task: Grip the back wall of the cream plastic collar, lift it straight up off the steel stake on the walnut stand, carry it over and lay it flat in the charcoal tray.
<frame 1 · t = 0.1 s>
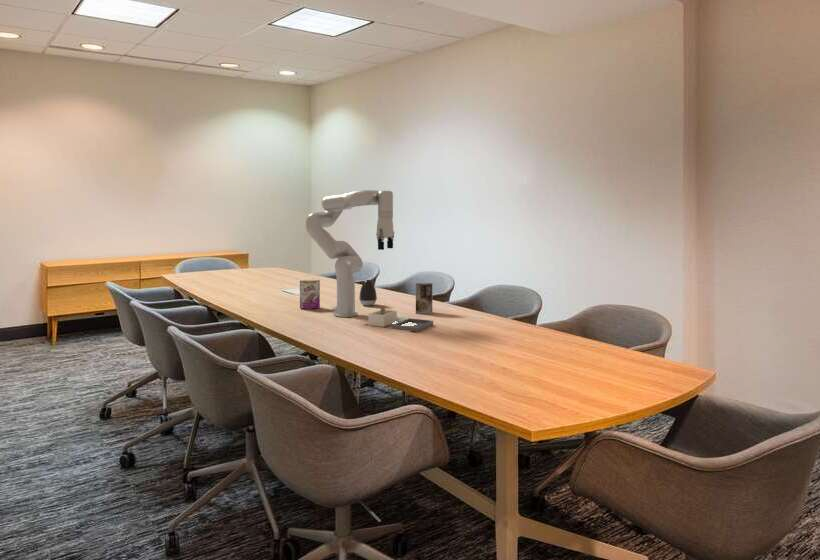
hand: (385, 248, 311), 37 cm above the table, tool pointing down, fingers open, 9 cm apart
candy bar box: (310, 308, 346), on the table
tray: (412, 327, 297), on the table
collar: (382, 323, 303), point 1 cm above the table, touching stake stand
stake stand: (382, 324, 303), on the table
coffee box: (424, 313, 335), on the table
dark vase: (367, 305, 357), on the table
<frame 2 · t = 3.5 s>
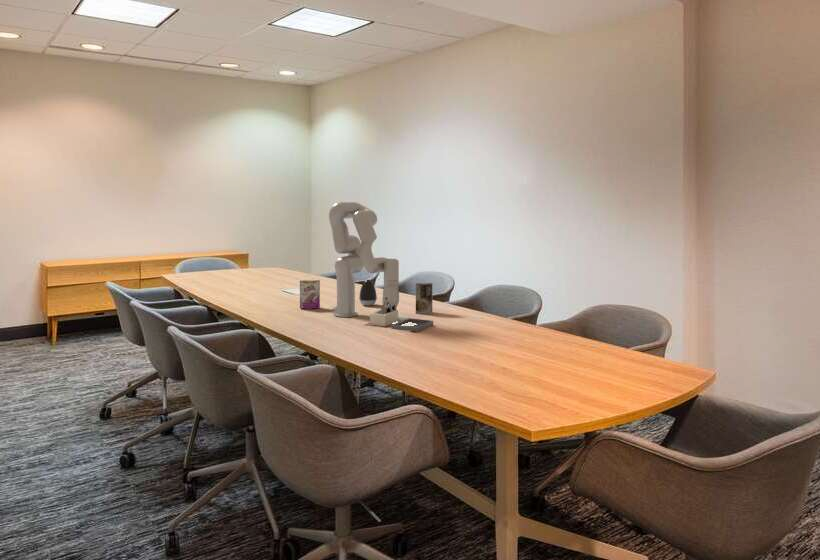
hand: (391, 318, 310), 1 cm above the table, tool pointing down, fingers open, 3 cm apart
collar: (384, 322, 304), point 1 cm above the table, touching gripper
everything else where it was.
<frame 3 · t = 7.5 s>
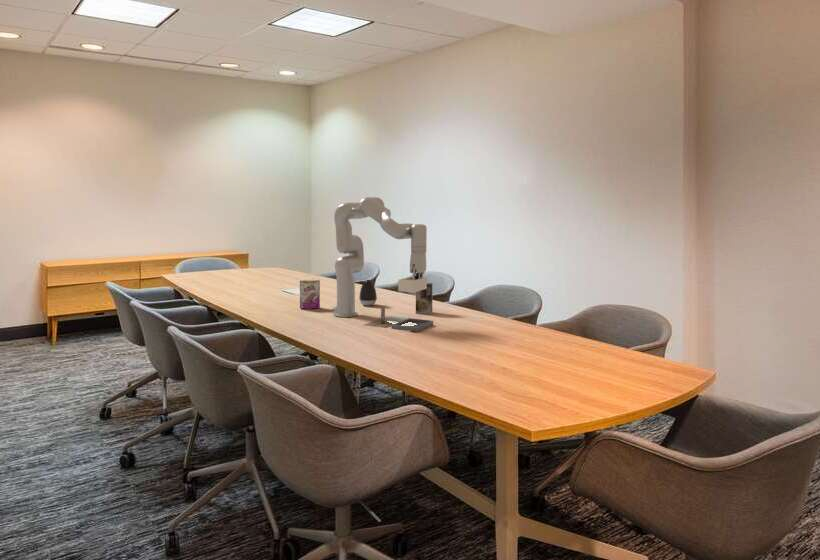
hand: (418, 286, 300), 19 cm above the table, tool pointing down, fingers closed on collar
collar: (412, 289, 294), point 18 cm above the table, touching gripper
everything else where it was.
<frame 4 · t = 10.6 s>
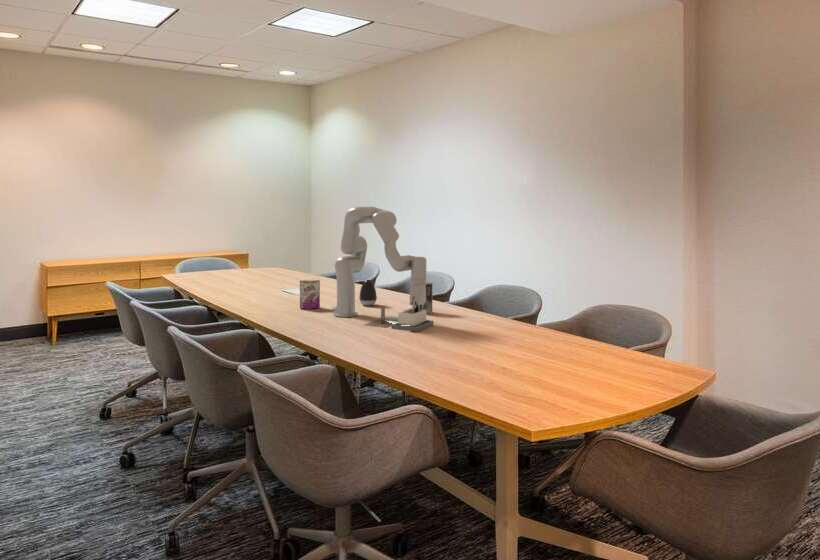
hand: (418, 318, 302), 3 cm above the table, tool pointing down, fingers closed on collar
collar: (412, 322, 297), point 2 cm above the table, touching gripper
everything else where it was.
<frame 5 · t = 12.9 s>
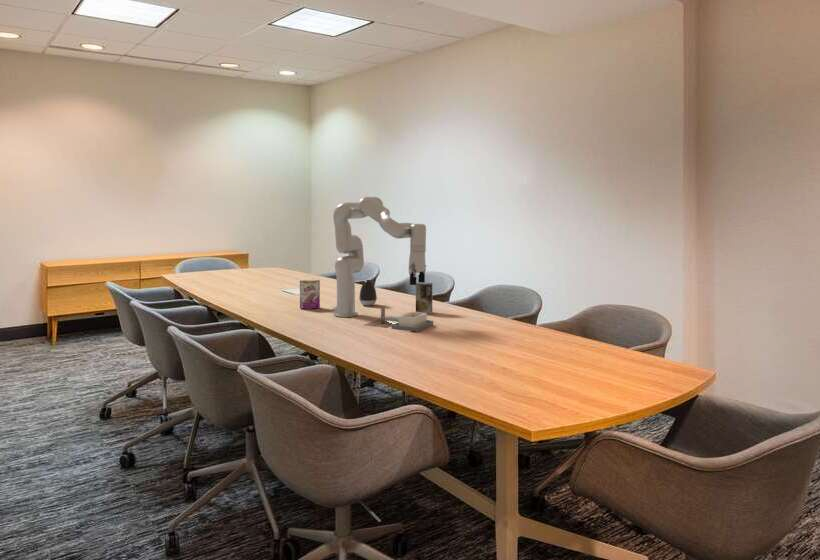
hand: (417, 283, 301), 21 cm above the table, tool pointing down, fingers open, 9 cm apart
collar: (412, 325, 297), point 1 cm above the table, touching tray
everything else where it was.
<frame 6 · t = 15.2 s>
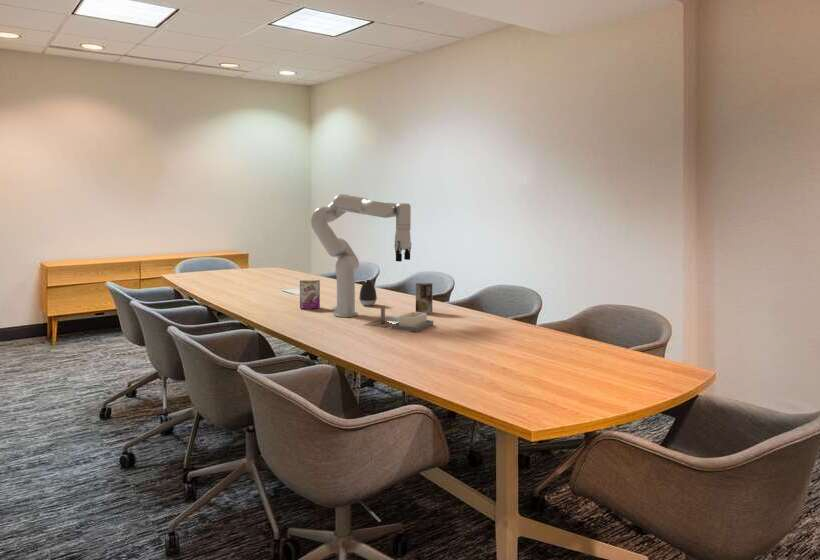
hand: (403, 260, 316), 30 cm above the table, tool pointing down, fingers open, 9 cm apart
nothing on the table moved.
at the end: collar 0.5 cm off-centre on the tray, point 0.6 cm above the tray's base; collar tilted 0°; the gripper is holding nothing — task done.
